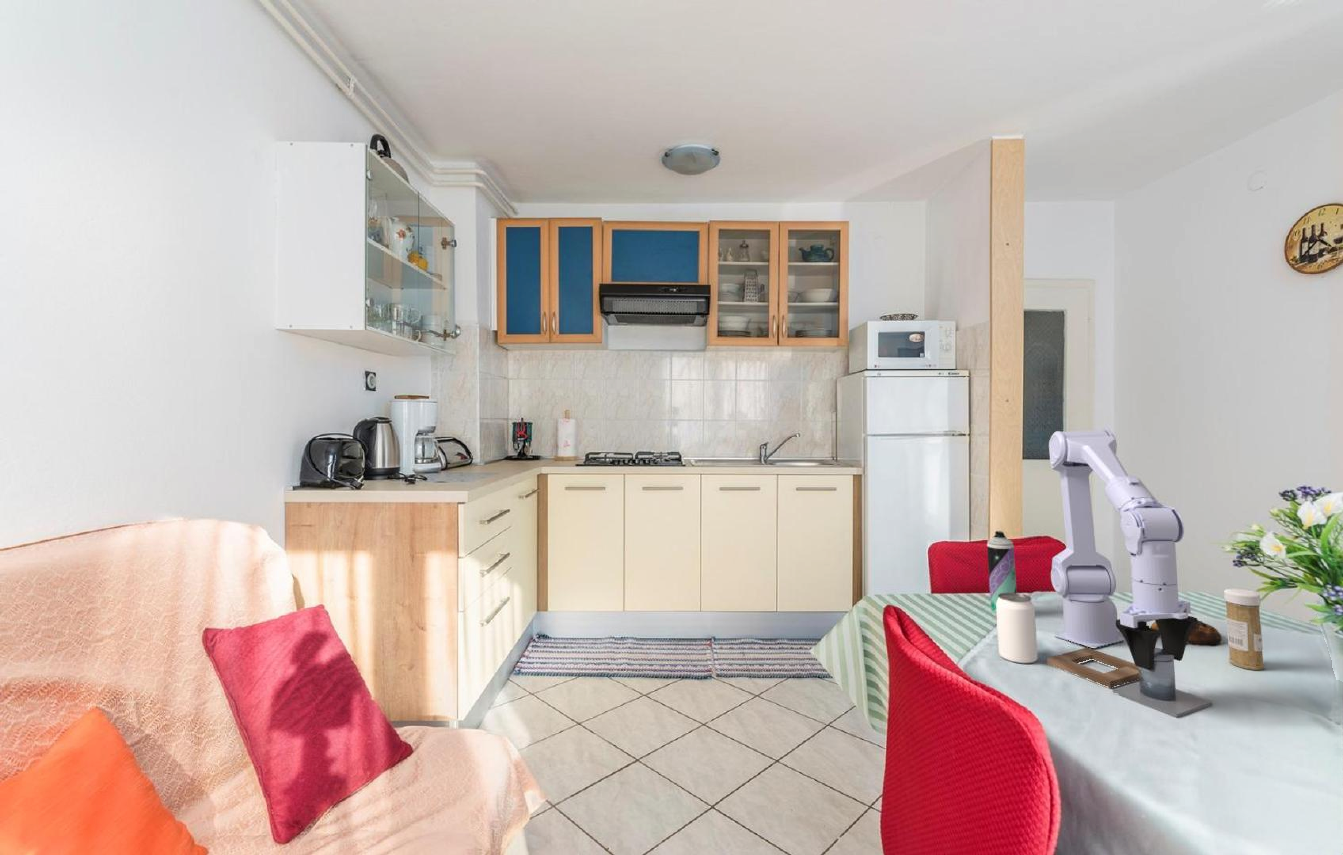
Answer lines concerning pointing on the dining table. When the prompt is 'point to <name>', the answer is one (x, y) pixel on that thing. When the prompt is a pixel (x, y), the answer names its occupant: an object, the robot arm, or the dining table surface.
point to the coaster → (1175, 708)
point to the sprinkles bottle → (1244, 628)
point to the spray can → (1000, 568)
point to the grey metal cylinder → (1159, 677)
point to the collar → (1113, 678)
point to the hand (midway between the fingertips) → (1158, 662)
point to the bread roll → (1201, 635)
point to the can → (1016, 628)
